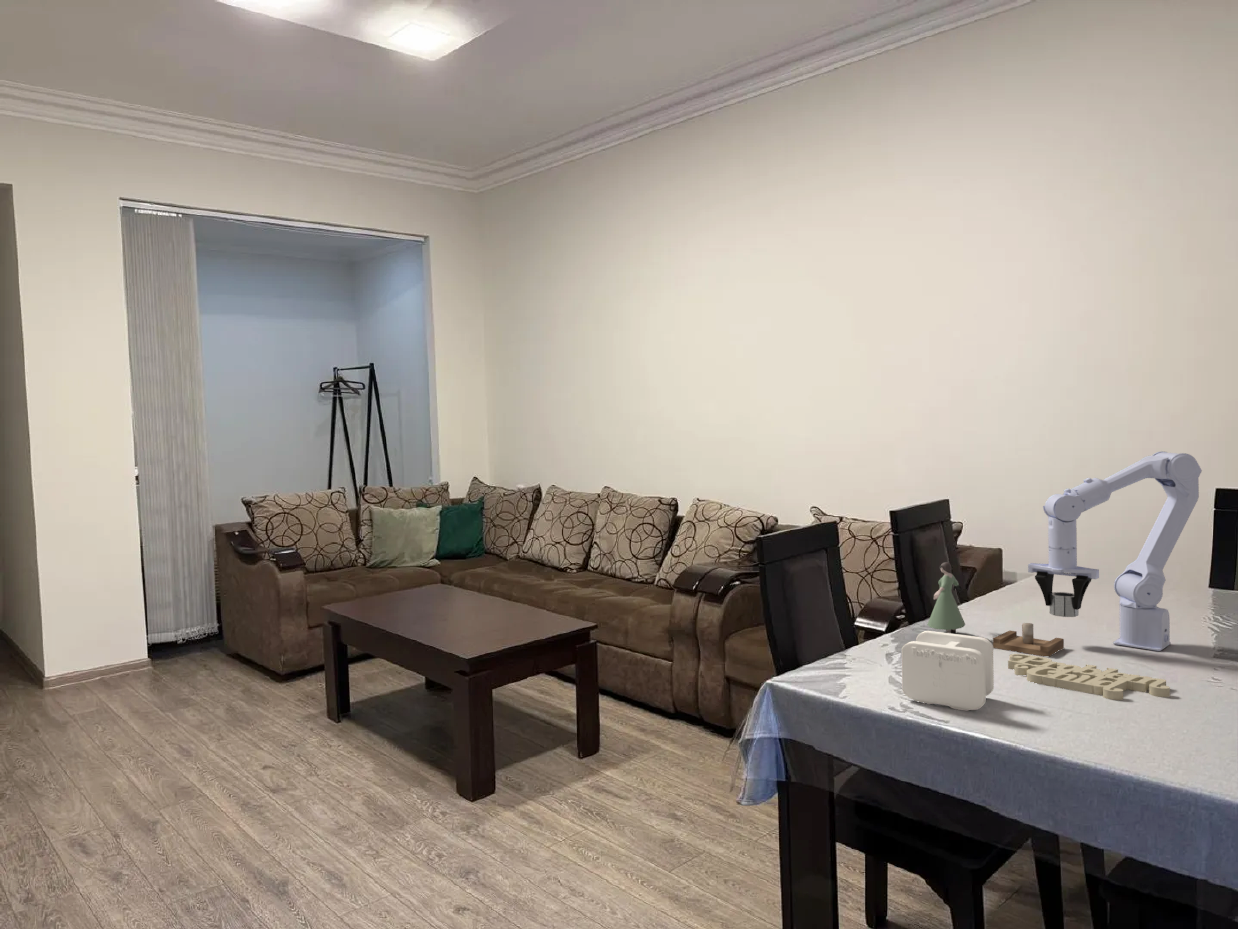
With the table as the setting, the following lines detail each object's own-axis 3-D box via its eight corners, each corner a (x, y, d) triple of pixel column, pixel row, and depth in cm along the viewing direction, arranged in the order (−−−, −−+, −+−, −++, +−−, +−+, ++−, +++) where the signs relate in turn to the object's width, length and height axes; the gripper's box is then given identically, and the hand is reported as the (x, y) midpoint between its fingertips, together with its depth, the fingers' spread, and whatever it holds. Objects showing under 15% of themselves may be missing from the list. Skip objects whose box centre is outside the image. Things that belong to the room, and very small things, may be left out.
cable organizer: (999, 699, 164) (998, 639, 163) (982, 716, 156) (981, 652, 155) (919, 686, 173) (918, 629, 173) (900, 701, 165) (898, 641, 164)
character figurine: (945, 626, 219) (943, 555, 218) (978, 630, 213) (977, 558, 212) (917, 639, 207) (915, 564, 206) (951, 644, 202) (950, 568, 201)
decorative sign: (986, 668, 178) (1014, 652, 188) (986, 678, 178) (1014, 661, 189) (1157, 699, 156) (1178, 679, 167) (1157, 710, 156) (1178, 689, 167)
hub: (1081, 614, 198) (1081, 594, 197) (1072, 618, 194) (1072, 598, 194) (1055, 610, 202) (1056, 591, 201) (1046, 614, 198) (1046, 594, 198)
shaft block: (1063, 648, 195) (1063, 624, 195) (1048, 657, 189) (1047, 632, 189) (1009, 639, 204) (1009, 616, 204) (993, 647, 198) (992, 624, 198)
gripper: (1022, 547, 199) (1023, 605, 200) (1090, 552, 188) (1091, 614, 189) (1034, 543, 204) (1035, 600, 205) (1102, 548, 193) (1102, 608, 194)
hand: (1063, 606), depth 197 cm, fingers closed on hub, 5 cm apart
